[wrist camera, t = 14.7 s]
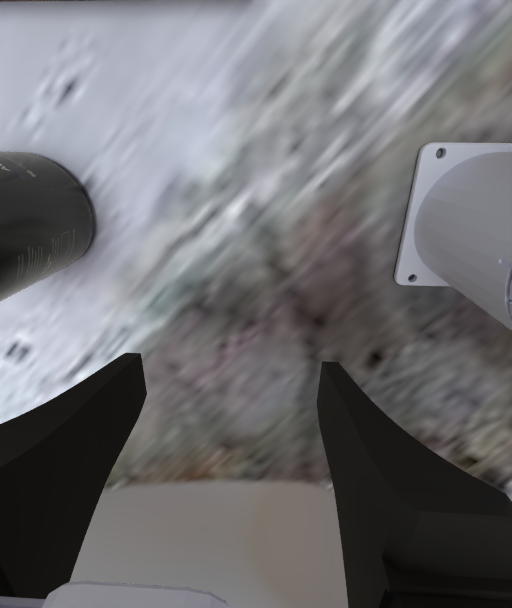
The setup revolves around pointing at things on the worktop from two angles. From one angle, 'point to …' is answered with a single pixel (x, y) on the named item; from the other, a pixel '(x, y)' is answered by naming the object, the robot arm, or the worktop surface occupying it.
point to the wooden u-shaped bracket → (28, 0)
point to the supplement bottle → (38, 220)
